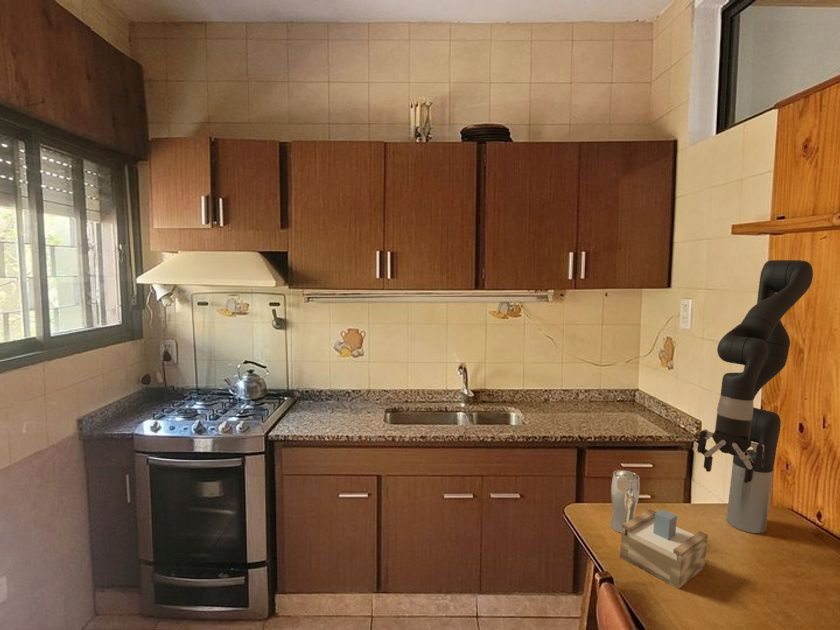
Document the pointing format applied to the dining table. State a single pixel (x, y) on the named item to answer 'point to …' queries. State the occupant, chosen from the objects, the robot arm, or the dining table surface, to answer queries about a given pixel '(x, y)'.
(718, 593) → the dining table surface
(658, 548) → the cover plate
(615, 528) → the beer glass
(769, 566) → the dining table surface
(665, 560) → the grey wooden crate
